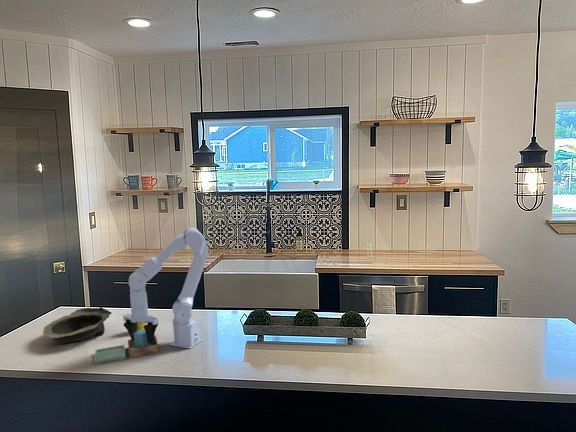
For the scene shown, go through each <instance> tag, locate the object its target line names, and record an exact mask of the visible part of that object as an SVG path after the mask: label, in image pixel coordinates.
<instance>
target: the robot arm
mask: <svg viewBox="0 0 576 432" xmlns="http://www.w3.org/2000/svg"><path fill="white" fill-rule="evenodd" d="M187 246H188V247H190V248H191V250H192V252H193V258H192V260H191V263H190V266H189V269H188V272H187V274H186V277H185V281H184V283H183V286H182V290H181V291H180V292H181V293H179V295H178V298H177V300H176V301H175V302H174V303H173V304H172V312H173V319H172V327H173V328H172V329H173V339H174V340H173V341H172V342H170V343H169V346H171V347H178V348H184V349H192V348H193V347H194V346H196V345H197V344H199V343H200V342H202V341H203V339H202V338H201V337H202V336H201V325H200V323H199V322H198V321H195V320H194V319H193V316H192V315H193V312H192V308H193V304H194V297H195V294H196V291H197V288H198V285H199V283H200V280H201V276H202V274H203V271H204V268H205V267H206V263H207V260H208V257H209V251H208V246H207V242H206V239H205V237H204V235H203V234H202V233H201V232H200V231H199V230H198V229H197V228H196V227H194V226H188V227H186V228H185V229H184V230H183V231H182V232H180V233H179V234H178V235H177V236H176V237H174V238H173V239H172V240H171V242H169V243H168V244H167V245H166V247H165V248H163V250H162V251H161V252H159V253H158V255H156V256H152V257H150V258H146V259H145V260H144V263H143V264H142V265H141V266H140V267H138V268H136V269H135V270H134V272H132V273H131V274H130V275H129V278H128V286H129V292H130V293H129V298H130V299H129V300H130V308H131V309H130V310H131V314H130V313H125V314H124V315H123V316H122V318H123V319H122V320H123V322H124V323H123V326H124V327H125V328H124V329H126V331H127V332H128V334H129V337H130V339H131V340H132V341H134V333H135V332H137V323H138V322H143V323H146V325H145V326H143V327H144V329H145V331H146V335H147V341H148V343H151V342H153V339H154V335H156V331H157V327H158V325H159V318H158V317H155V316H153V315H149V307H148V296H147V295H148V294H147V291H146V285H147V282H149V281H150V280H151V279H152V278H153V277H154V276H156V274H158V273H159V272H160V271H161V270H162V269H163V264H164V263H165V262H166V261H167V260H169V258H170V257H171V256H173V255H174V254H175V253H176V252H177V251H178V250H181V249H188V247H187Z"/></svg>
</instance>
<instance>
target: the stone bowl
mask: <svg viewBox="0 0 576 432" xmlns="http://www.w3.org/2000/svg"><path fill="white" fill-rule="evenodd" d="M112 314H113V312H111V311H109V309H106V308H103V307H102V306H100V307H99V308H98V307H96V308H95V307H84V308H80V309H76V310H75V311H73V312H71V313H70V314H68V315H64V316H62V317H60V318H57V319H54V320H53V321H51V322H50V323H49V324H47V325H45V326H44V327H43V329H42V334H43V336H44V337H47V338H51V339H52V338H53V339H55V340H56V341H57V343H59V344H61V345H65V344H69V343H70V344H71V343H74V342H77V341H80V340H81V341H82V340H84V339H87V338H88V337H91V336H93V335H95V336H97V337H101V336H103V335H104V334H105V330H106V329H105V324H104V322H105V321H106V320H107V319H108V318H110V315H112Z"/></svg>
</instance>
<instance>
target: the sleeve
mask: <svg viewBox="0 0 576 432" xmlns="http://www.w3.org/2000/svg"><path fill="white" fill-rule="evenodd" d="M127 345H128V347H127V348H128V354H129V355H128V356H129V359H132V358H137V357H144V356H149V355H153V354H158V353H160V351H159V344H158V340H157V335H156V334H154V339H153V342H151V346H146V347H140V348H135V343H134V341H132V340H131V338H130V339H127Z"/></svg>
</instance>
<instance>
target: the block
mask: <svg viewBox="0 0 576 432" xmlns="http://www.w3.org/2000/svg"><path fill="white" fill-rule="evenodd" d="M134 343H135V347H134V349H135V348H140V347H146V346H151V345H152V344H151V343H148V341H147V335H146V331H145V330H142V329H141V330H139V331H137V332H135V333H134Z"/></svg>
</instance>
